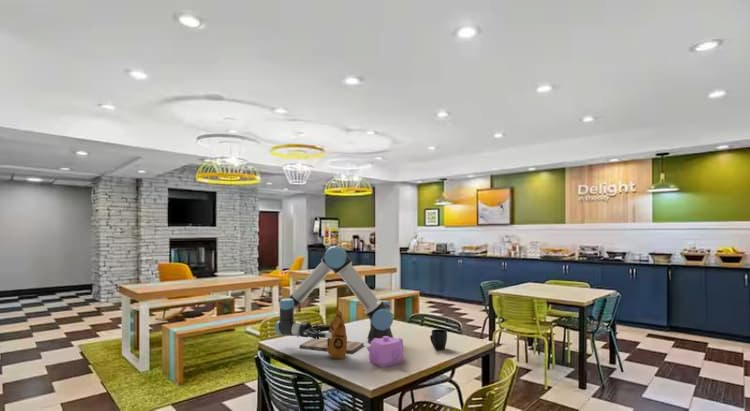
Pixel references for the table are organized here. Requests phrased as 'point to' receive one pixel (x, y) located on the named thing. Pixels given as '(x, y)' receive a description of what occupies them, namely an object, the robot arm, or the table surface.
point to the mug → (439, 339)
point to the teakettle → (386, 351)
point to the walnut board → (322, 345)
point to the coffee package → (337, 337)
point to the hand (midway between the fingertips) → (337, 332)
